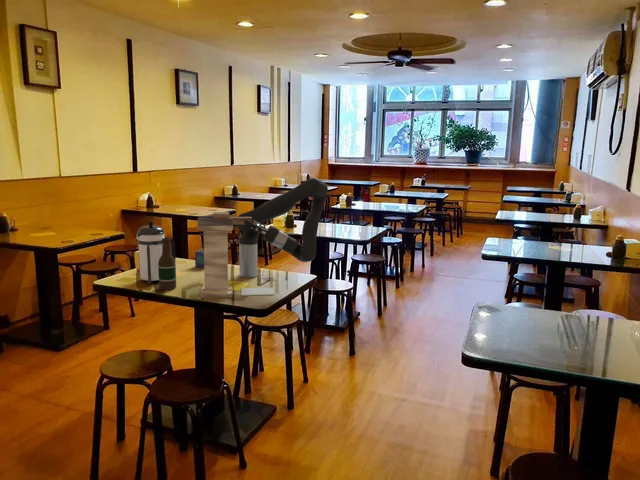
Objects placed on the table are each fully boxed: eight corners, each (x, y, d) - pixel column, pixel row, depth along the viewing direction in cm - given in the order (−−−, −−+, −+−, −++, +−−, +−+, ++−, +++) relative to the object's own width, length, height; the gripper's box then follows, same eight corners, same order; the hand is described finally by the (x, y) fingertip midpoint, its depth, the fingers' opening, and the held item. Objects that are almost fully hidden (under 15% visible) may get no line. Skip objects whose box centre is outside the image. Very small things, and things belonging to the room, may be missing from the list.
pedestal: (201, 289, 232) (199, 215, 225) (233, 288, 234) (232, 215, 228) (198, 298, 218) (196, 219, 212) (233, 297, 221) (232, 219, 214)
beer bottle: (155, 289, 231) (153, 238, 226) (167, 285, 237) (165, 236, 233) (167, 291, 227) (165, 240, 223) (179, 287, 234) (178, 237, 229)
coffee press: (165, 285, 237) (163, 223, 231) (132, 284, 237) (129, 222, 232) (176, 276, 254) (174, 218, 248) (145, 275, 254) (143, 217, 249)
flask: (210, 268, 272) (209, 249, 270) (206, 269, 270) (206, 249, 268) (197, 266, 277) (196, 247, 275) (193, 267, 274) (193, 248, 272)
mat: (241, 289, 233) (241, 288, 233) (272, 288, 236) (272, 287, 236) (241, 296, 223) (241, 295, 223) (274, 295, 225) (274, 294, 225)
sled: (213, 223, 223) (213, 212, 222) (251, 222, 226) (251, 212, 225) (212, 225, 217) (212, 213, 216) (251, 225, 220) (251, 213, 219)
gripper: (278, 227, 233) (248, 210, 229) (281, 232, 219) (249, 214, 215) (270, 241, 233) (240, 224, 229) (272, 247, 219) (240, 229, 216)
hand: (244, 219), depth 222 cm, fingers open, 8 cm apart
